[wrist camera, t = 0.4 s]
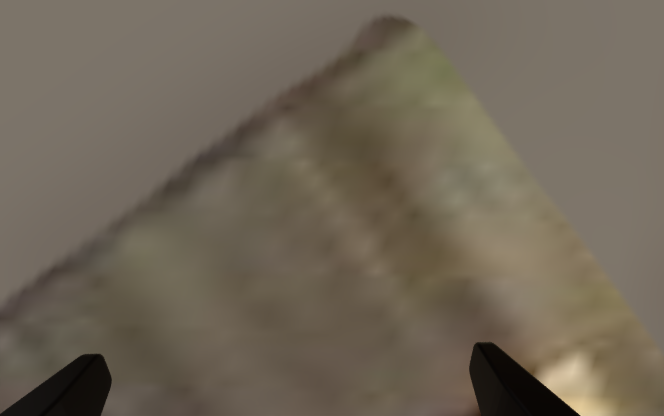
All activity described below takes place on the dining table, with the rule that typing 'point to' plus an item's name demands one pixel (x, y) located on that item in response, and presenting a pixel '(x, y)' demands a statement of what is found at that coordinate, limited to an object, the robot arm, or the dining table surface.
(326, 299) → the dining table surface
